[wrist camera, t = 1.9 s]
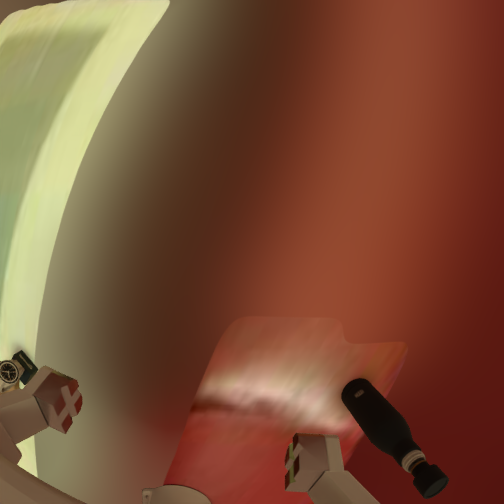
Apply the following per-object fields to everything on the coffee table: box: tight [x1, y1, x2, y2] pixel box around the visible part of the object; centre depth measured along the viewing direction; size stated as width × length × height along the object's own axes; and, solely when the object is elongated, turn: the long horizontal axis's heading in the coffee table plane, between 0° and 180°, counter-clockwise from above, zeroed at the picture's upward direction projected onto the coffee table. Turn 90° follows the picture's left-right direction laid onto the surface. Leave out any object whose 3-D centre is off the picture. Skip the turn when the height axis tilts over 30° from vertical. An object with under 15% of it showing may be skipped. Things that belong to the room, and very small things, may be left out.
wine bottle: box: [342, 378, 449, 499], centre depth 37 cm, size 6×6×30 cm
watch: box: [0, 350, 38, 393], centre depth 41 cm, size 6×8×11 cm
